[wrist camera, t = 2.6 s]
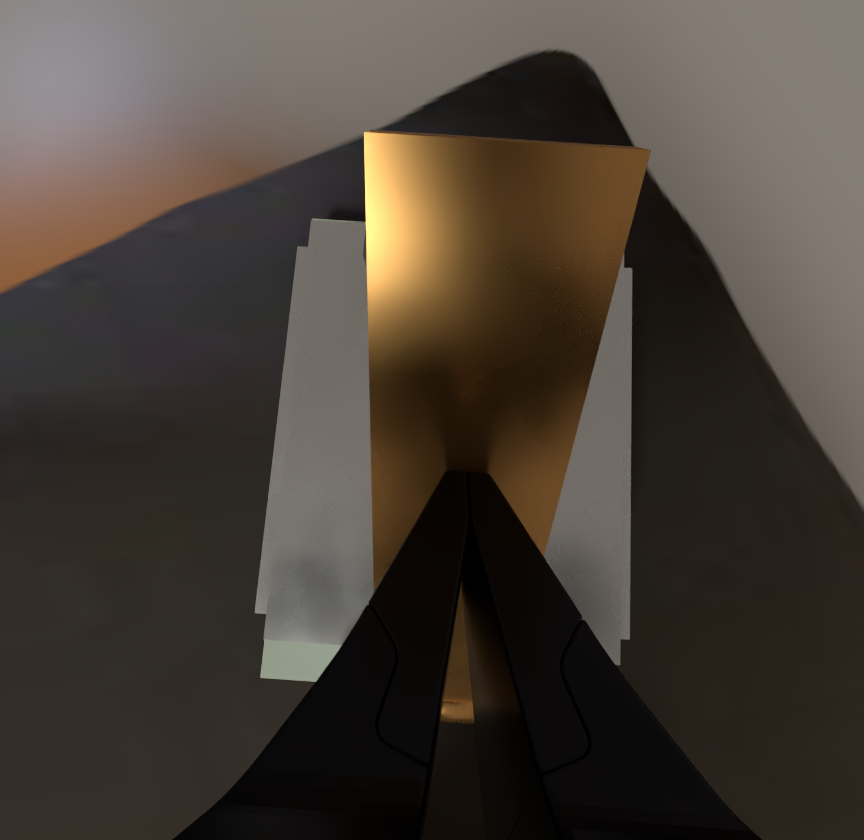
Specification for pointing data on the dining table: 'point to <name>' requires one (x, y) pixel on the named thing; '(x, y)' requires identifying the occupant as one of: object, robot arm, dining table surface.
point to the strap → (484, 322)
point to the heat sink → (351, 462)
